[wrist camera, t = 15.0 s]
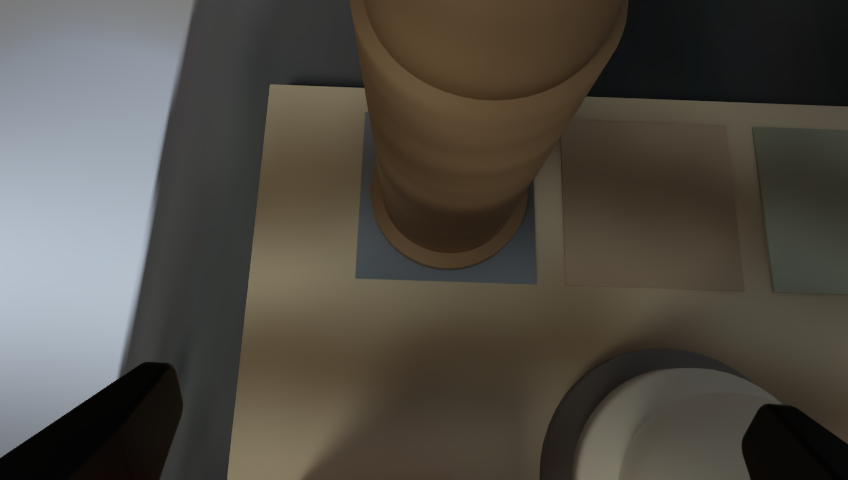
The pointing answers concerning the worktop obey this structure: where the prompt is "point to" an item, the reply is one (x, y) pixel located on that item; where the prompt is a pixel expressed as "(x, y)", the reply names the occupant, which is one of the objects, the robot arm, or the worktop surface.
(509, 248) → the game board
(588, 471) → the dome
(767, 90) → the worktop surface
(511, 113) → the pawn
